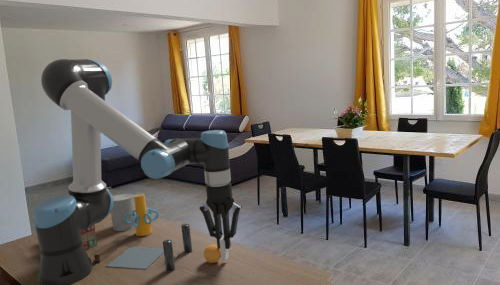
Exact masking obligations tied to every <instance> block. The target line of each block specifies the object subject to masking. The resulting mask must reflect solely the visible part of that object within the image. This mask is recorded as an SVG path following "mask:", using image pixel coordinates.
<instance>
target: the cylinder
mask: <svg viewBox="0 0 500 285" xmlns="http://www.w3.org/2000/svg"><path fill="white" fill-rule="evenodd" d="M133 195H134V204H135V210H133V212H132V213H129V214H127V215H126V217H125V221H126V223H128V224H133V226H134V227H135V228H134V231H135V235H136V236H137V237H144V236H149V235H150V234H152V232H153V229H152V228H153V227H152V222H153V221H156V220H158V218H159V212H158V211H157V210H156V209H151V208H150V207H147V203H146V196H145V193H136V194H133ZM134 212H136V215H135V214H134ZM152 212H153V213H155V214H156V215H155V217H154V218H152ZM130 215H133V219H132V222H128V220H127V217H128V216H130Z"/></svg>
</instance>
